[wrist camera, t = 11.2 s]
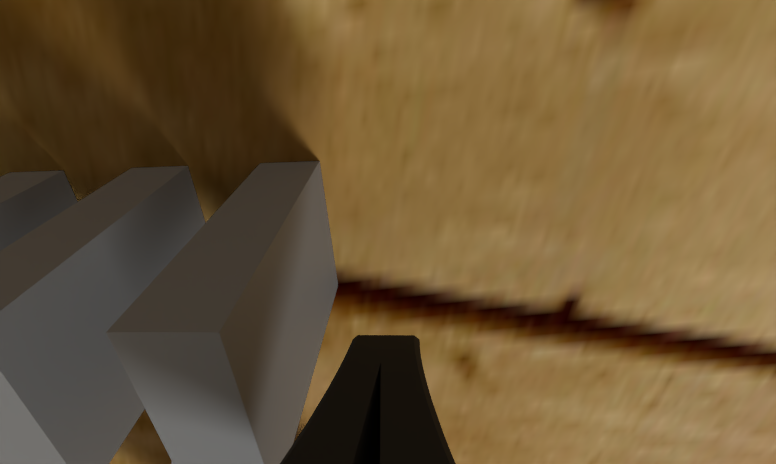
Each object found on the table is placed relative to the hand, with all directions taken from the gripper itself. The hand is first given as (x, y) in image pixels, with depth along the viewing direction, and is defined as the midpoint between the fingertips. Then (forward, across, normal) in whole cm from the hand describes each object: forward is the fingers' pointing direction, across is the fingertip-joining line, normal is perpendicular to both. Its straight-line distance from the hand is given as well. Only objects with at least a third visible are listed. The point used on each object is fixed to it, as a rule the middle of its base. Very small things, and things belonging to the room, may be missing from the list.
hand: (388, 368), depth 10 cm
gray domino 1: (+6, +8, 0) cm, 10 cm away
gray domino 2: (+6, +4, 0) cm, 7 cm away
